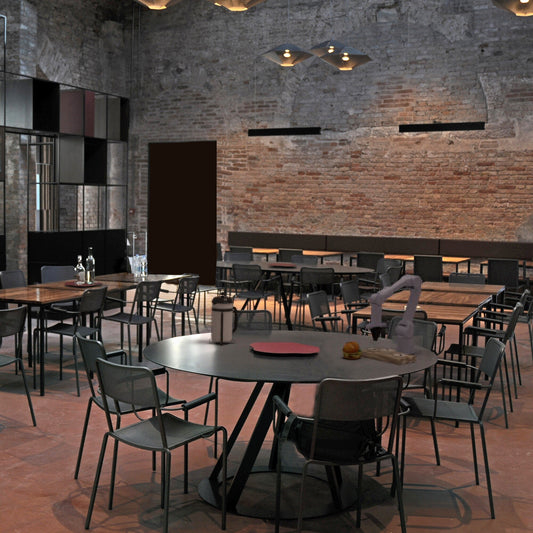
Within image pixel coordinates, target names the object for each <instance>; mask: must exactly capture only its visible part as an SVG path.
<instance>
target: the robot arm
mask: <svg viewBox="0 0 533 533" xmlns="http://www.w3.org/2000/svg"><path fill="white" fill-rule="evenodd" d="M422 284H423V280H422V277H420V276H419V275H412V274H408V273H407V274H404V275H403V276H402V277H401V278H400V279H399V280H396V282H395V283H393V284H392V285H390V286H384V287H383V289H382V288H381V289H380V291H377V292H376V293H372V294H371V295H370V297H369V298H368V301H369V304H370V323H367V324H365V329H367V330H369V331H370V333H371V337H372V341H374V342H377V341H378V340H379V336H380V334H381V332H382V330H383V328H385V327H387V326H386V325H387V323H386V322H382V313H383V312H382V311H383V310H382V309H383V308H382V307H383V305H384V304H385V301H387V300H388V299H390V298H391V297H392V296H393V295H394V292H396V291H399V289H402V288H404V287H406V288H407V289H408V290H409V292H410V293H409V296H408V300H407V303H406V307H405V310H404V313H403V316H402V319H401V320H400V321H398V323H397V325H396V326H395V329H394V333H395V334H396V336H397V340H396V341H397V342H396V350H395V352H399V353H404V354H409V355H413V354H416V352H415V339H414V338H413V336H414V333H415V332H414V331H415V329H414V328H415V324H414V323H413V321H414V318H415V314H416V311H417V310H416V309H417V308H418V304H419V301H420V298H421V295H422V294H421V293H422V286H423V285H422ZM382 327H383V328H382Z"/></svg>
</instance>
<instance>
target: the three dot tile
mask: <svg viewBox="0 0 533 533" xmlns="http://www.w3.org/2000/svg"><path fill="white" fill-rule="evenodd" d="M409 355H410V354H409ZM409 355H404V354H394V355H392V356H395V357H400V358H404V357H409Z"/></svg>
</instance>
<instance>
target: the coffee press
mask: <svg viewBox="0 0 533 533" xmlns="http://www.w3.org/2000/svg"><path fill="white" fill-rule="evenodd" d="M233 304H234V300H233V298H232V297H230V296H227V295H225V292H224V291H221V292H220V295H217V296H214V297H213V298H212V300H211V307H210V308H211V314H210V315H211V317H210V318H211V319H210V320H211V321H210V322H211V330H210V339H209V340H208V344H211V343H213V342H215V343H219V344H220V346H223V345H224V344H223V343H228V342H230V343H231V344H233V342H235V340H234V339H233V334H234V333H236V331H237V330H238V323H239V321H238V319H239V314H238V309H237V307H236V306H233ZM233 318H234V319H233ZM233 321H234V322H233ZM233 323H234V324H233Z"/></svg>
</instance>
